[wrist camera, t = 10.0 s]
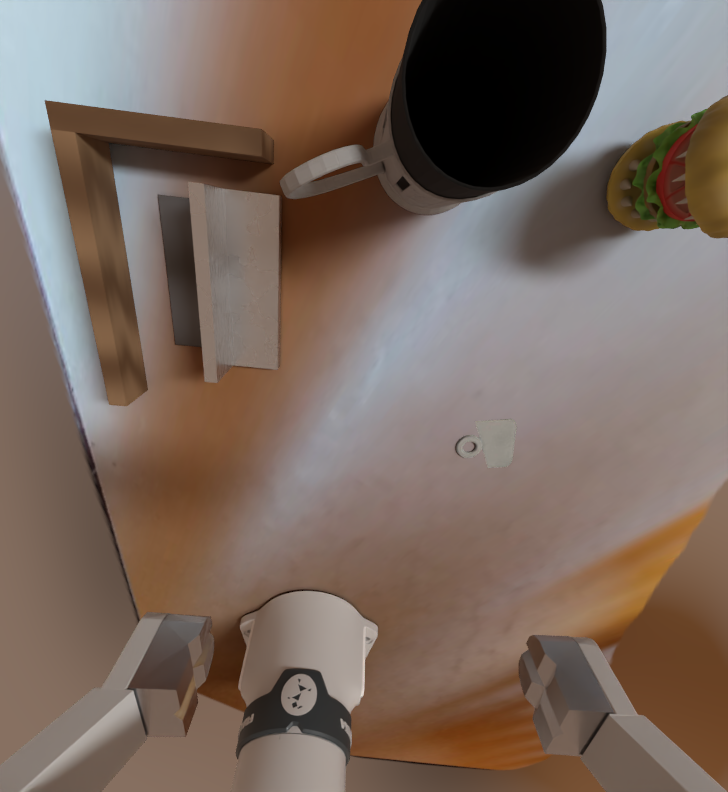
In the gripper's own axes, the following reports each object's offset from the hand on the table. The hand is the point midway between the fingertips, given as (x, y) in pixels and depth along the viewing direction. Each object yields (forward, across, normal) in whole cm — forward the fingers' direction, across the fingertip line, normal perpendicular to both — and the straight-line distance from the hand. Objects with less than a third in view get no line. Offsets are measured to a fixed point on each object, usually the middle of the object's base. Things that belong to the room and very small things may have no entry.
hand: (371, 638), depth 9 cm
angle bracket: (+26, +10, -4) cm, 28 cm away
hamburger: (+26, -20, -15) cm, 37 cm away
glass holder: (+26, -1, -14) cm, 30 cm away
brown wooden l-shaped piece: (+26, +15, -4) cm, 31 cm away
